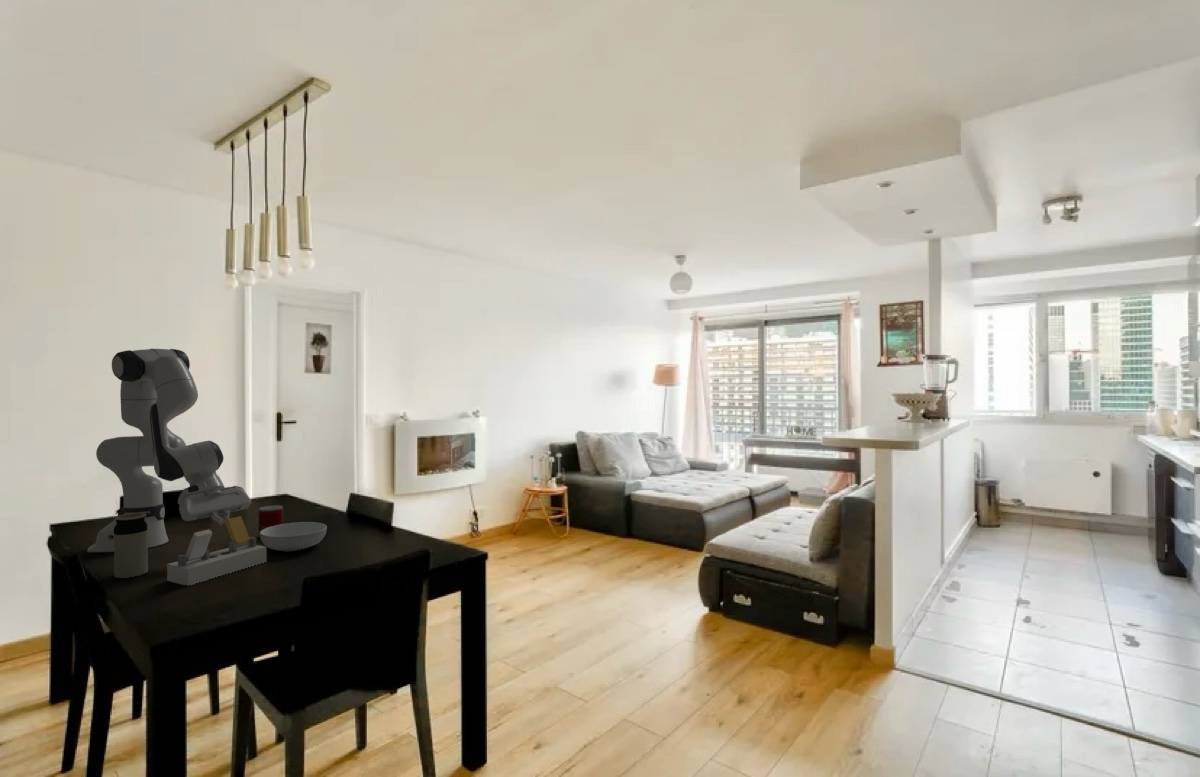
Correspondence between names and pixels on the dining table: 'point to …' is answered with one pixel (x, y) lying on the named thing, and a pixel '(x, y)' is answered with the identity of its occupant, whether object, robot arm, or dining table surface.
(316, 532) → the serving bowl
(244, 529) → the amber paddle
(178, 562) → the long paddle holder base
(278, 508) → the canned food
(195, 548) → the white paddle
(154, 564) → the dining table surface
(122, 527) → the travel mug
